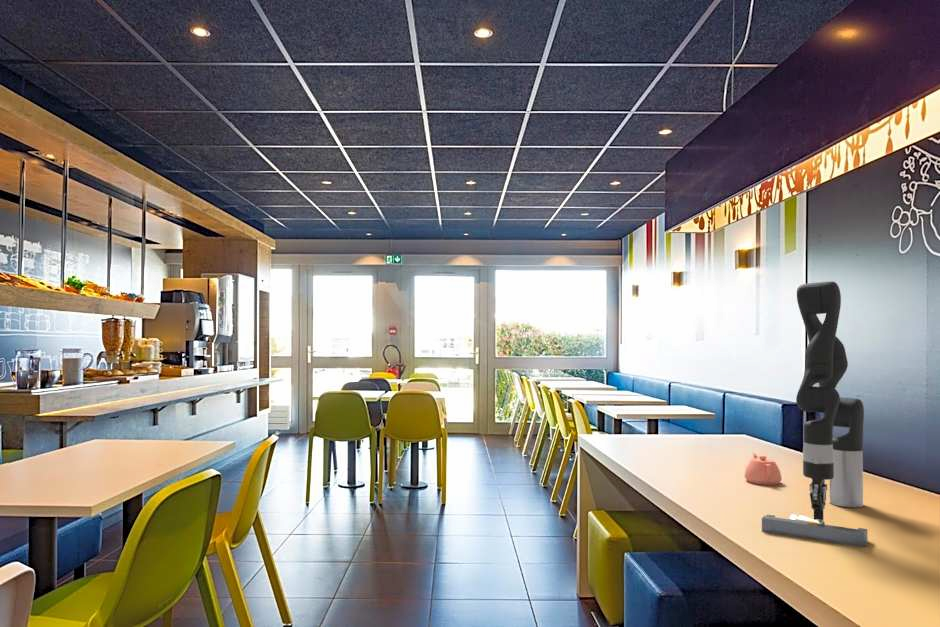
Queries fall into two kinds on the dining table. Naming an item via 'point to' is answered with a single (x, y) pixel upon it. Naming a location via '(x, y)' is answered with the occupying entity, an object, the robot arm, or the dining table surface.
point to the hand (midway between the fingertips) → (818, 523)
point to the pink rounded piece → (762, 471)
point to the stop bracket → (815, 531)
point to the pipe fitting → (806, 519)
